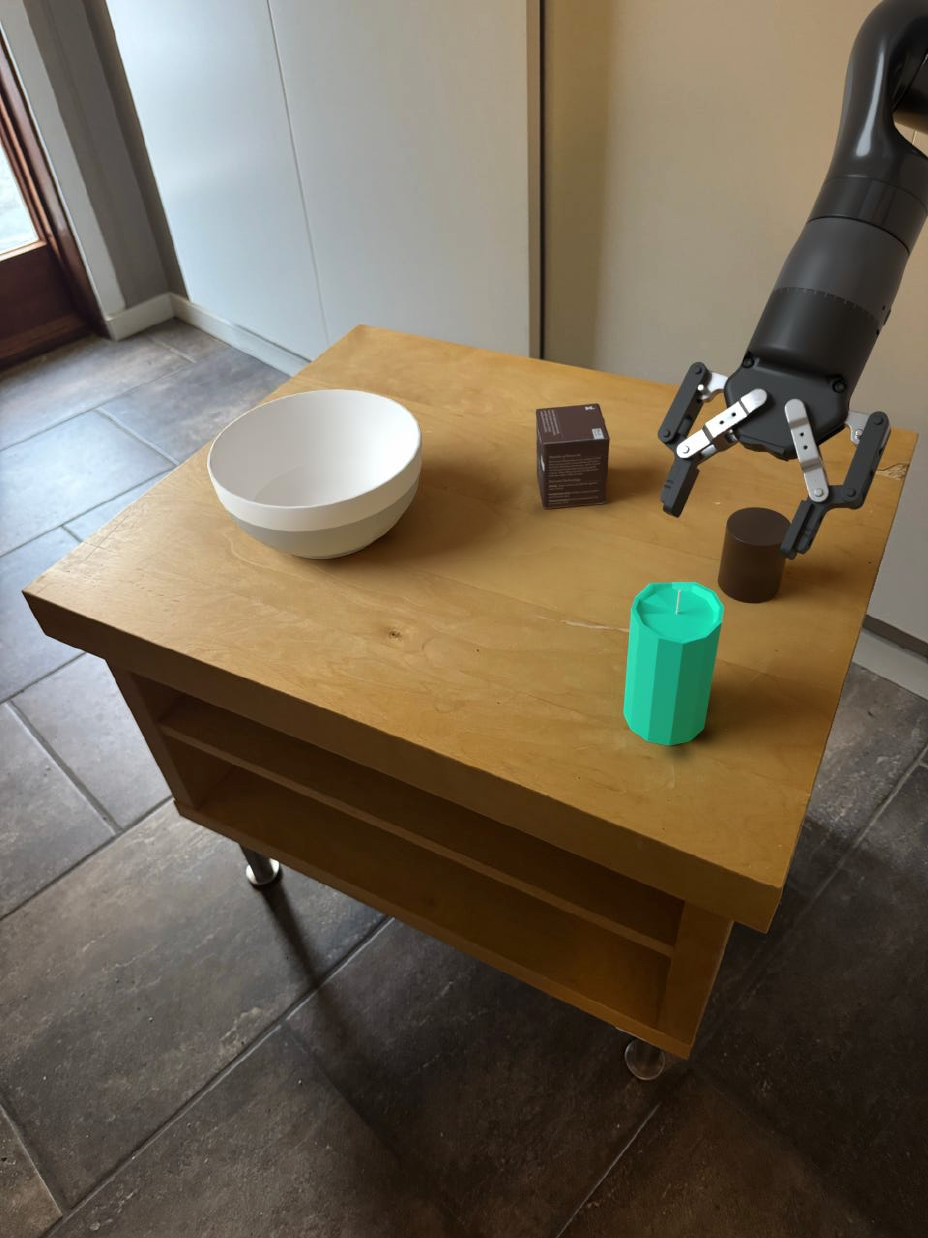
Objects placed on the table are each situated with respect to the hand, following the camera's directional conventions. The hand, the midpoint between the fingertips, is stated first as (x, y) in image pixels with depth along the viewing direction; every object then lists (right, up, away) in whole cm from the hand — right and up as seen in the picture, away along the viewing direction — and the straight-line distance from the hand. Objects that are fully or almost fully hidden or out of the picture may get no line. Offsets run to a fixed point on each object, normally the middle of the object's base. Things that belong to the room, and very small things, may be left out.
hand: (726, 535), depth 64 cm
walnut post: (+6, -3, +14) cm, 16 cm away
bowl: (-30, +3, +24) cm, 39 cm away
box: (-8, +7, +26) cm, 28 cm away
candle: (-3, -13, +5) cm, 14 cm away
